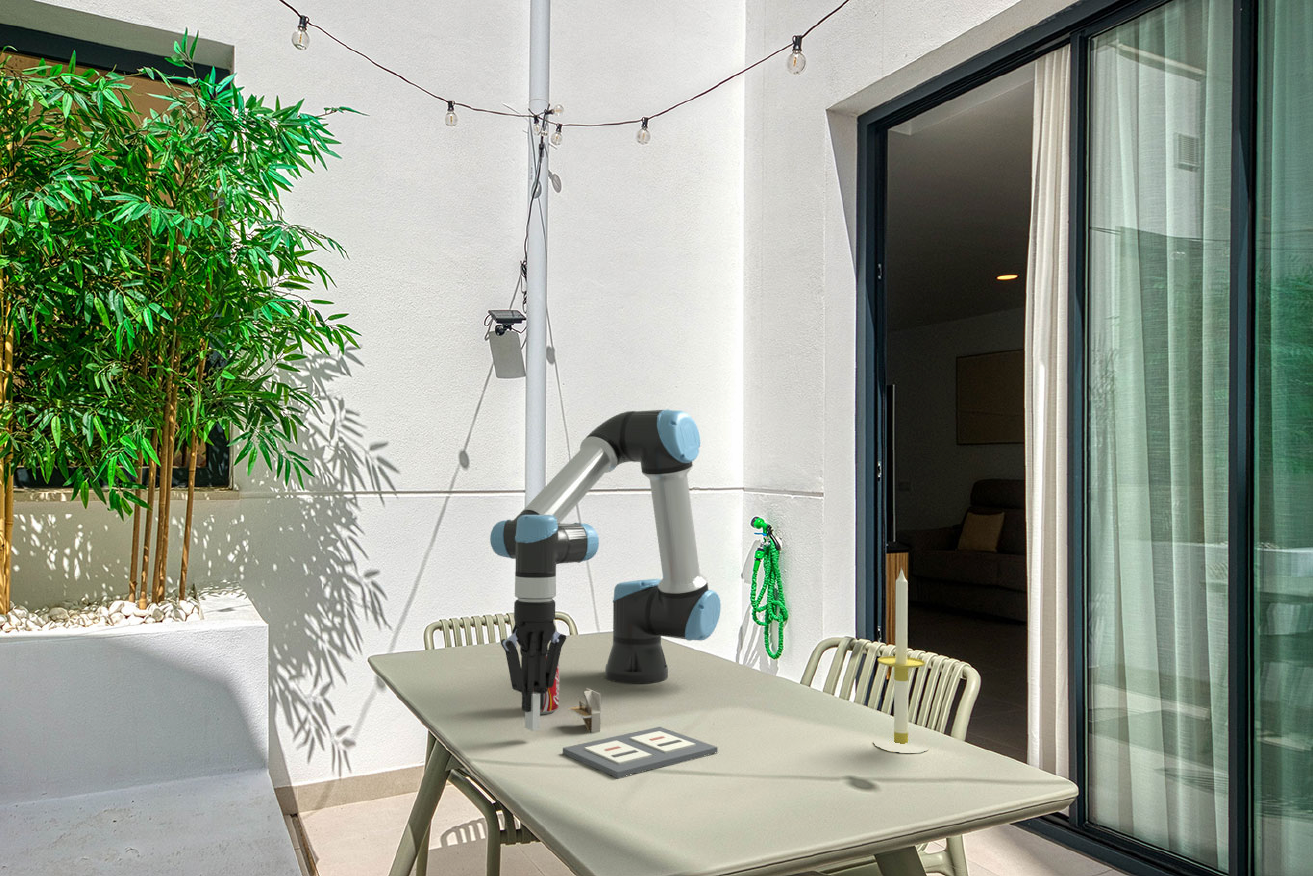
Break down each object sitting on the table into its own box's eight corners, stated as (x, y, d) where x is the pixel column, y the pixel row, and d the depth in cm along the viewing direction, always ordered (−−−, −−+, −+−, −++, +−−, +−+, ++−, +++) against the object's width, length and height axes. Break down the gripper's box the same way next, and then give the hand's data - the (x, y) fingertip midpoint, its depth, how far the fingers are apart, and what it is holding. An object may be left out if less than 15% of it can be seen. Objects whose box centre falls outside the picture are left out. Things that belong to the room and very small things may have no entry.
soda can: (552, 717, 181) (553, 656, 182) (519, 714, 183) (520, 654, 183) (563, 708, 188) (564, 650, 189) (530, 705, 190) (531, 648, 190)
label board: (659, 732, 172) (659, 724, 172) (717, 753, 160) (717, 744, 160) (562, 753, 158) (562, 745, 158) (617, 778, 146) (617, 769, 146)
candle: (899, 757, 159) (899, 571, 160) (861, 741, 168) (862, 565, 169) (941, 749, 163) (941, 568, 164) (902, 735, 172) (903, 563, 173)
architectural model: (584, 736, 170) (585, 696, 170) (568, 727, 176) (568, 688, 176) (600, 734, 172) (601, 694, 172) (584, 724, 178) (584, 686, 178)
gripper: (553, 594, 174) (551, 718, 173) (493, 599, 165) (490, 729, 164) (575, 598, 168) (573, 727, 167) (514, 604, 160) (511, 739, 159)
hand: (532, 728), depth 166 cm, fingers closed
